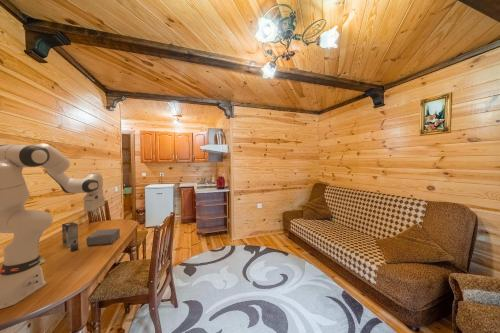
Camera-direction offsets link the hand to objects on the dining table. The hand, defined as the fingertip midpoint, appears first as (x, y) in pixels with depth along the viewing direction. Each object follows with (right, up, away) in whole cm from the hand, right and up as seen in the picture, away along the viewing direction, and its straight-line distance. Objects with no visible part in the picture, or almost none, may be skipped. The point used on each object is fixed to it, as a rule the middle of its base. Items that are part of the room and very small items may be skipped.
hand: (95, 214), depth 136 cm
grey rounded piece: (-13, -25, -3) cm, 28 cm away
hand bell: (-20, -26, -20) cm, 38 cm away
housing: (-4, -25, +13) cm, 28 cm away
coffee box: (-24, -25, +6) cm, 35 cm away
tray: (-3, -24, +12) cm, 26 cm away
